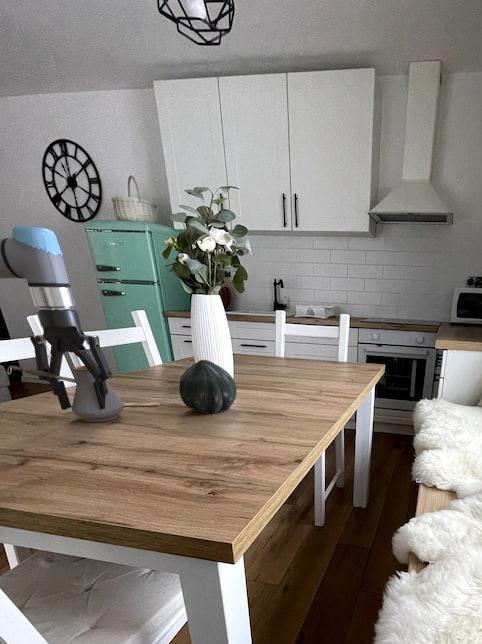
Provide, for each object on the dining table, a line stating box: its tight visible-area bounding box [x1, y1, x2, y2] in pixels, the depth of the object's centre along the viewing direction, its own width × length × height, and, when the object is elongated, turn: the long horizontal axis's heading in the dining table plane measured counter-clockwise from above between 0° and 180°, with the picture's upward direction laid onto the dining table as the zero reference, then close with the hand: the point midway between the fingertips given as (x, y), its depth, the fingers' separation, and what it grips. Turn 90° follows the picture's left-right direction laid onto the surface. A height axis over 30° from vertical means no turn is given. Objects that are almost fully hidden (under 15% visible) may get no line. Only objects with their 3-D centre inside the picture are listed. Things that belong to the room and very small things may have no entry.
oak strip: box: [70, 402, 162, 408], centre depth 114 cm, size 24×3×1 cm, turn 97°
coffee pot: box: [7, 364, 125, 423], centre depth 96 cm, size 21×12×15 cm, turn 142°
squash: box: [178, 359, 238, 415], centre depth 109 cm, size 14×15×15 cm
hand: (85, 407), depth 98 cm, fingers closed on coffee pot, 8 cm apart
